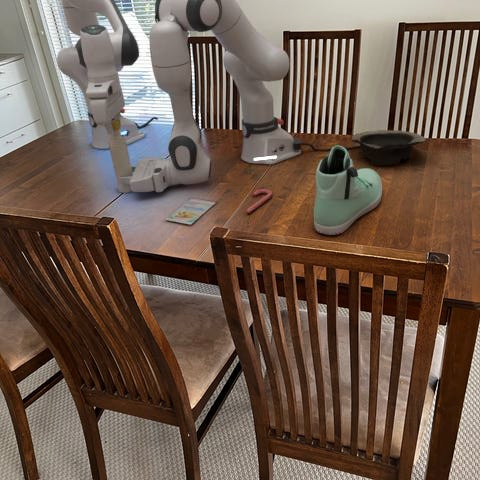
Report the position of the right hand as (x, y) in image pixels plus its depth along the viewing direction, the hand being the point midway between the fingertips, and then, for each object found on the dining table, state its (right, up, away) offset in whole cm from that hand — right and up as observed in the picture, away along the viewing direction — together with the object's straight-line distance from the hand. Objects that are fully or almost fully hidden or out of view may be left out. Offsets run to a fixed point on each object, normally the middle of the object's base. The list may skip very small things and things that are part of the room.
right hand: (121, 175), depth 159 cm
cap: (0, +15, -9) cm, 18 cm away
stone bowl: (+91, +8, +11) cm, 92 cm away
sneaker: (+71, -12, -20) cm, 74 cm away
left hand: (0, +13, -8) cm, 15 cm away
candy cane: (+44, -10, -13) cm, 47 cm away
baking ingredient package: (+25, -13, -15) cm, 31 cm away
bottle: (+1, -4, +3) cm, 5 cm away
